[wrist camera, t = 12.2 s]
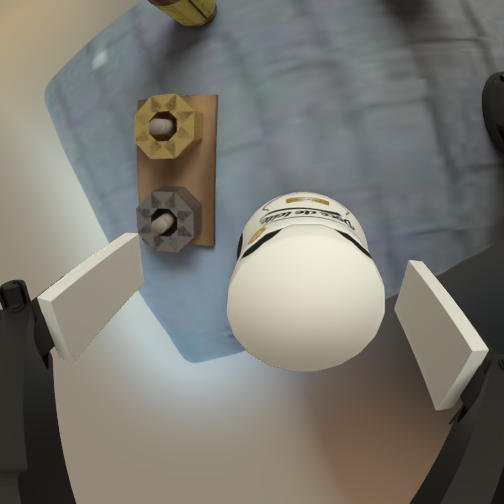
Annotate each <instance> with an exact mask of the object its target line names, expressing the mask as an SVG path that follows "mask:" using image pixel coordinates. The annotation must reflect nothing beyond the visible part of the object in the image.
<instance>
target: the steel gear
mask: <svg viewBox="0 0 504 504" xmlns="http://www.w3.org/2000/svg"><path fill="white" fill-rule="evenodd" d="M162 209H170V210H171V212H172V213H173V214H174V215H175V216H176V217H177V225H178V228H174V227H170V228H168V229H167V230H166V231H165V232H163V233H162V234H156V233H154V232H153V230H152V228H151V224H152V222H153V221H154V220H156V219H157V218H159V217H160V216H162V215H163V211H162ZM136 213H137V226H138V233H139V234H140V235H141V237H142V238H143V239H144V240H145V241H146V242H147V243H148V244H149V245H150V246H151V247H152V248H153V249H154V250H155V251H163V252H173V253H178V252H179V251H180V250H181V249H182V248H183V247H184V246H185V245H186V244H187V243H188V242H189V241H190V240H191V239H193V238H194V237H195V235H196V234H197V233H198V232H199V231H200V230H201V229H202V204H201V203H200V202H199V201H198V200H197V199H196V198H195V196H194V195H193V194H192V193H191V192H190V191H189V190H188V189H187V188H186V187H178V186H162V187H160V188H158V189H155V190H153V191H151V192H150V193H149V194H148V196H147V197H146V198H145V199H144V200H143V201H142V203H141V204H140V205H139V206H138V207H137V209H136Z"/></svg>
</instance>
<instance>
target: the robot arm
mask: <svg viewBox="0 0 504 504" xmlns="http://www.w3.org/2000/svg"><path fill="white" fill-rule="evenodd" d="M482 104H483V113H484V118H485V122H486V125H487V128H488V131H489V133H490V135H491V137H492V139H493V141H494V143H495V144H496V146H497V147H498V148H499V149H500V150H501V151H502V152H503V153H504V72H498V73H495V74H493V75H491V76H490V77H489V78H488V80H487V82H486V84H485V86H484V90H483V98H482ZM143 283H144V278H143V270H142V262H141V253H140V243H139V234H136V233H125V234H123V235H122V236H120V237H119V238H117V239H116V240H114V241H113V242H111V243H110V244H108V245H107V246H106V247H104V248H103V249H101V250H100V251H98V252H97V253H96V254H94V255H93V256H91V257H90V258H88V259H87V260H86V261H84V262H83V263H81V264H80V265H79V266H77V267H76V268H75V269H73V270H72V271H71V272H69V273H68V274H67V275H65V276H63V277H62V278H60V279H59V280H58V281H56V283H54V284H52V285H51V286H50V288H47V289H46V290H45V291H43V292H42V293H41V294H40V295H38V296H37V297H36V298H35V299H33V300H32V301H31V300H30V297H29V294H28V291H27V287H26V284H25V282H24V281H23V280H12V281H9V282H6V283H5V284H3V285H1V287H0V303H1V305H2V308H3V310H0V504H76V502H75V498H74V495H73V492H72V488H71V484H70V480H69V476H68V473H67V468H66V464H65V459H64V455H63V449H62V445H61V439H60V433H59V426H58V419H57V411H56V403H55V393H54V378H53V359H52V355H51V353H50V350H51V349H52V348H53V347H54V346H55V348H56V350H57V353H58V355H59V357H60V358H62V359H64V360H67V361H69V362H71V363H74V362H75V361H76V359H77V358H78V357H79V356H80V354H81V353H82V352H83V351H84V350H85V349H86V347H87V346H88V345H89V344H90V343H91V342H92V340H93V339H94V338H95V337H96V335H98V333H99V332H100V331H101V330H102V329H103V327H104V326H105V325H106V324H107V323H108V322H109V321H110V320H111V318H112V317H113V316H114V315H115V314H116V313H117V312H118V311H119V309H120V308H121V307H122V306H123V305H124V304H125V303H126V302H127V301H128V300H129V298H130V297H131V296H132V295H133V294H134V293H135V292H136V291H137V290H138V289H139V288H140V286H141V285H142V284H143ZM394 310H395V312H396V314H397V316H398V318H399V320H400V323H401V325H402V327H403V329H404V332H405V334H406V336H407V338H408V341H409V343H410V345H411V347H412V350H413V352H414V355H415V357H416V359H417V362H418V364H419V367H420V369H421V371H422V374H423V377H424V379H425V382H426V385H427V387H428V390H429V393H430V395H431V398H432V401H433V403H434V406H435V409H436V410H441V409H449V408H452V407H453V406H454V405H455V403H456V402H457V400H458V399H459V398H460V397H461V399H462V401H463V405H462V407H461V408H460V409H459V411H458V412H457V413H456V415H455V416H454V417H453V418H452V420H451V421H450V422H449V424H452V422H453V421H454V423H453V425H452V427H451V430H450V432H449V434H448V436H447V438H446V440H445V443H444V445H443V447H442V449H441V451H440V453H439V455H438V457H437V459H436V460H435V462H434V464H433V466H432V468H431V470H430V471H429V473H428V475H427V476H426V478H425V480H424V482H423V483H422V485H421V487H420V488H419V490H418V491H417V493H416V494H415V496H414V498H413V499H412V501H411V502H410V504H504V354H496V352H495V351H494V349H493V347H492V346H491V345H490V344H489V342H488V340H487V339H486V337H485V336H484V335H483V333H482V332H481V330H480V329H478V326H477V325H476V323H475V322H474V321H473V319H471V318H470V317H469V316H468V315H467V314H465V313H463V312H462V311H461V309H460V308H459V307H458V305H457V304H456V303H455V301H454V300H453V299H452V298H451V296H450V295H449V294H448V292H447V291H446V290H445V289H444V287H443V286H442V285H441V284H440V282H439V281H438V280H437V279H436V278H435V276H434V275H433V274H432V273H431V272H430V270H429V269H428V268H427V267H426V266H425V265H424V263H423V262H422V261H412V260H408V264H407V268H406V272H405V275H404V279H403V283H402V286H401V289H400V293H399V296H398V299H397V302H396V306H395V309H394Z"/></svg>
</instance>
